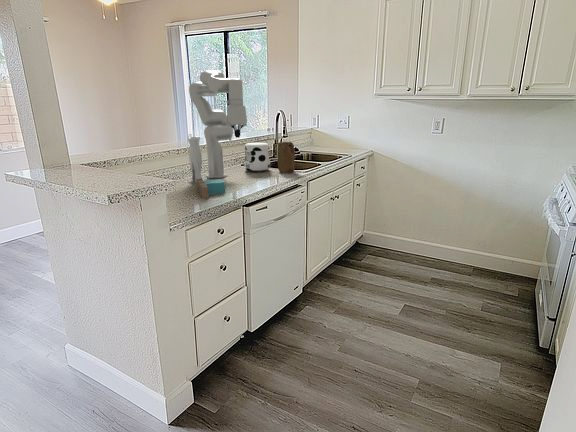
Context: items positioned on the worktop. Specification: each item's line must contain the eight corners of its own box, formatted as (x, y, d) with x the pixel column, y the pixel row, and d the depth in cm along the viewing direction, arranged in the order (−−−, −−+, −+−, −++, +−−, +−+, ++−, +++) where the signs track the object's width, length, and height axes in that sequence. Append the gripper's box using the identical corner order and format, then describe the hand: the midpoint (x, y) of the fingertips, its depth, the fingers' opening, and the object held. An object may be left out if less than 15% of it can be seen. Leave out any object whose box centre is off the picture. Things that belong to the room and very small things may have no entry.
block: (276, 172, 251) (276, 142, 245) (281, 170, 258) (280, 140, 252) (292, 173, 248) (292, 142, 241) (296, 171, 254) (296, 141, 248)
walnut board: (196, 189, 209) (196, 179, 207) (202, 189, 210) (201, 178, 208) (202, 198, 191) (201, 187, 189) (208, 198, 192) (208, 186, 190)
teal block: (203, 191, 206) (203, 180, 204) (222, 189, 209) (221, 179, 207) (206, 195, 199) (205, 183, 197) (225, 193, 202) (224, 182, 200)
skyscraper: (187, 182, 226) (183, 134, 217) (199, 180, 231) (196, 133, 222) (193, 184, 220) (189, 135, 211) (206, 182, 225) (202, 134, 216)
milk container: (271, 168, 265) (271, 142, 259) (268, 173, 249) (267, 145, 243) (247, 168, 267) (246, 142, 261) (242, 173, 250) (241, 145, 244)
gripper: (223, 103, 199) (225, 138, 204) (251, 102, 204) (252, 137, 209) (220, 102, 205) (222, 137, 211) (247, 102, 210) (248, 136, 216)
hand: (237, 137), depth 210 cm, fingers closed
